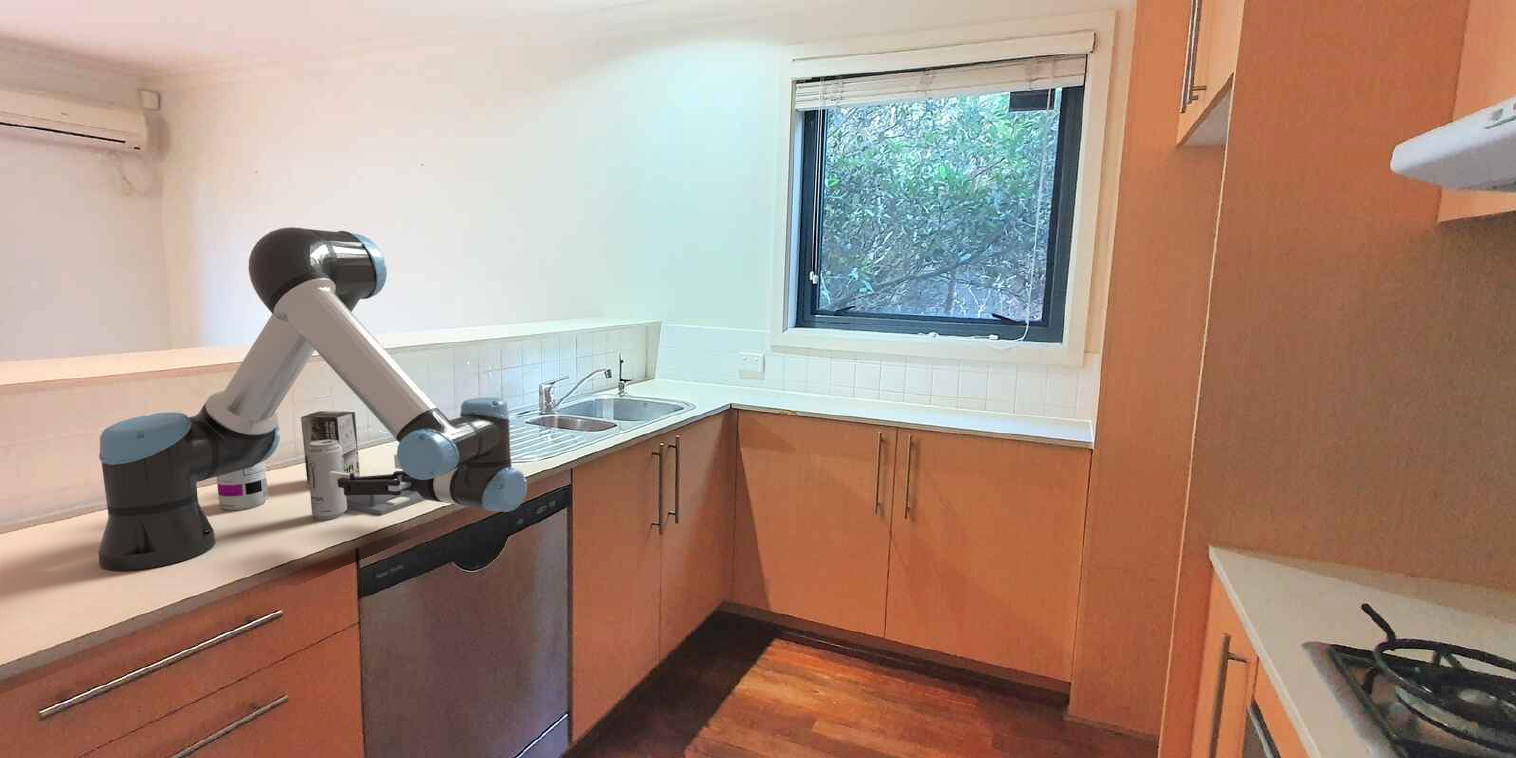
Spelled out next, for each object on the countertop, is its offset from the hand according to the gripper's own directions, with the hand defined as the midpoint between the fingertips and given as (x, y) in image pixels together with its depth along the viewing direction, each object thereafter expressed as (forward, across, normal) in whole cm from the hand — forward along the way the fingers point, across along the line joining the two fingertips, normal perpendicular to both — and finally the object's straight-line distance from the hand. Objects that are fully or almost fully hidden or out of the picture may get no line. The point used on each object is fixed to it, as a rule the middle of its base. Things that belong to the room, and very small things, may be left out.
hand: (365, 469), depth 134 cm
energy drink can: (+11, 0, -11) cm, 16 cm away
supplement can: (+33, -3, -10) cm, 35 cm away
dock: (+9, +14, -11) cm, 20 cm away
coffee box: (+32, +16, -11) cm, 37 cm away
